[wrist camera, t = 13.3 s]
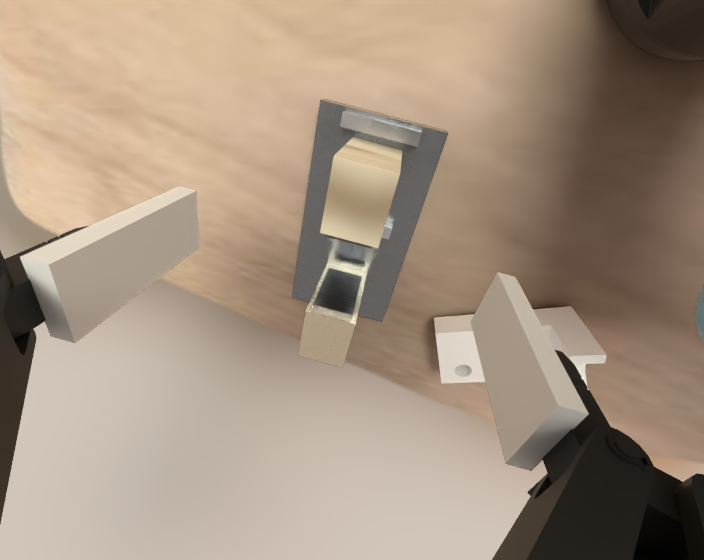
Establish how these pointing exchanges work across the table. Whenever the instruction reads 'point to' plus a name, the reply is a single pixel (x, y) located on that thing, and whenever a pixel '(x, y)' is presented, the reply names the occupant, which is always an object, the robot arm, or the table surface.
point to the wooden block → (361, 192)
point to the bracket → (558, 324)
